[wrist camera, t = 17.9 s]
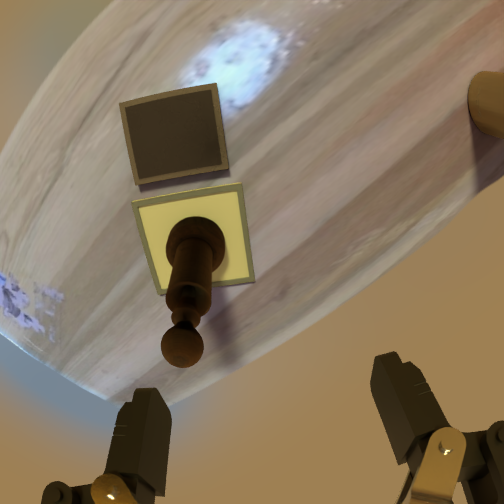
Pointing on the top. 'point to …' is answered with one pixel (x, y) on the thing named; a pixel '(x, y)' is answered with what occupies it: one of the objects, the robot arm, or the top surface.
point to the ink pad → (174, 134)
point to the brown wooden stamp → (190, 285)
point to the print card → (204, 205)
